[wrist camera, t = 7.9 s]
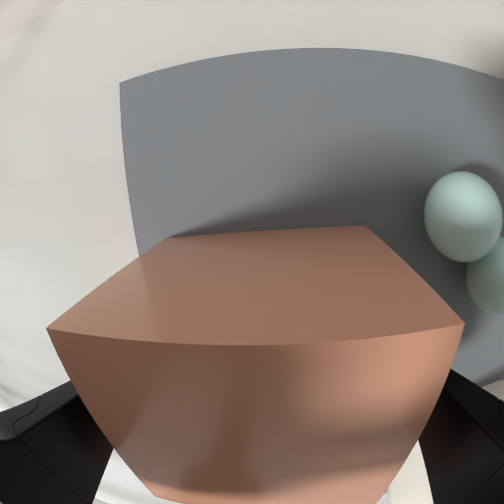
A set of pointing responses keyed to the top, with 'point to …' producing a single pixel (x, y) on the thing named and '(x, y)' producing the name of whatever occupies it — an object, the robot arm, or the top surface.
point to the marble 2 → (488, 280)
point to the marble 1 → (463, 216)
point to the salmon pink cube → (262, 365)
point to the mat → (318, 157)
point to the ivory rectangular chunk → (422, 469)
